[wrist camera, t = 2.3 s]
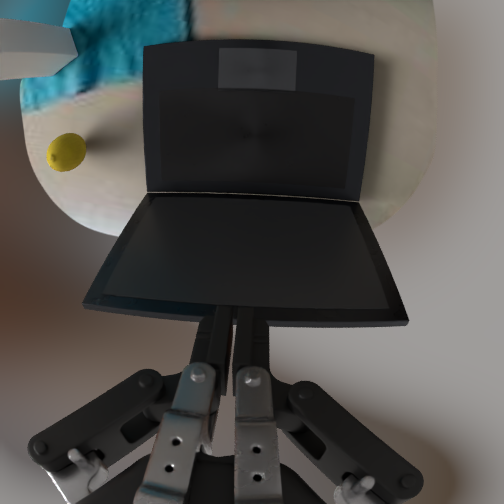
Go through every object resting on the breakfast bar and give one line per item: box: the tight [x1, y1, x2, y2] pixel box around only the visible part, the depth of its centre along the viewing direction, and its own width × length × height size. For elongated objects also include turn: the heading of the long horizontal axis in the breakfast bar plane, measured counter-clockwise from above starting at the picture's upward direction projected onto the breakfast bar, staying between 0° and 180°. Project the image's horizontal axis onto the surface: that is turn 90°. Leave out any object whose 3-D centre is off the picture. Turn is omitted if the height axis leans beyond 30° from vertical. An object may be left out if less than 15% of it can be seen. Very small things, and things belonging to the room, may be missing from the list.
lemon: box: [47, 133, 86, 172], centre depth 35 cm, size 6×6×8 cm
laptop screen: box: [82, 193, 409, 328], centre depth 32 cm, size 21×30×1 cm
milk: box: [0, 18, 78, 80], centre depth 21 cm, size 6×6×22 cm
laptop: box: [143, 39, 374, 201], centre depth 36 cm, size 21×30×2 cm
